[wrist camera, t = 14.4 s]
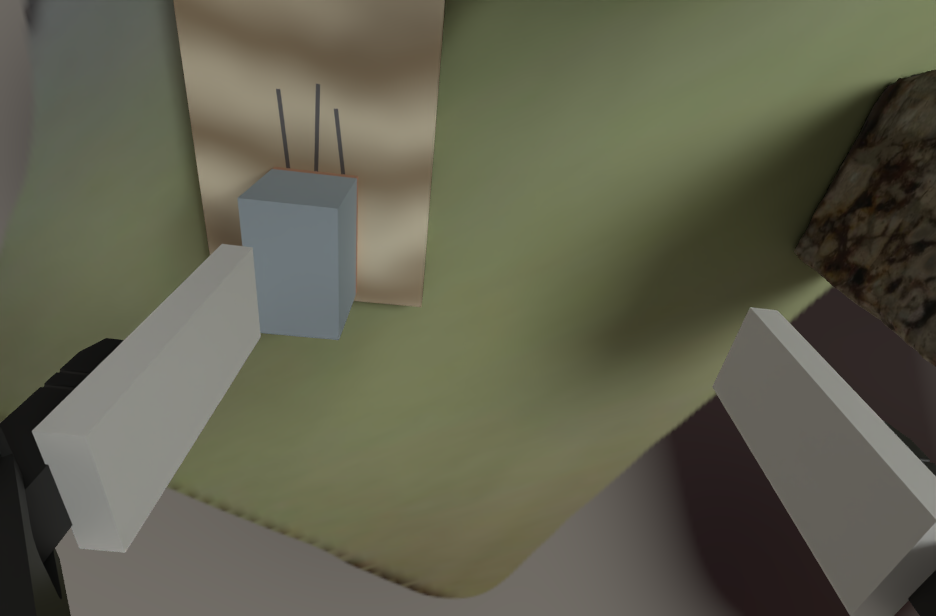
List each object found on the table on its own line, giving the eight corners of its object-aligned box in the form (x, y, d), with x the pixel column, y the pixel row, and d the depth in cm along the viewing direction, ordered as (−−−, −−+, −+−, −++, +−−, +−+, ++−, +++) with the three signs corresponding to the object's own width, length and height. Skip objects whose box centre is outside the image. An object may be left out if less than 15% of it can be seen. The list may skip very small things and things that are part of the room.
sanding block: (274, 166, 32) (237, 198, 26) (358, 175, 32) (338, 208, 27) (282, 284, 35) (251, 332, 30) (356, 291, 36) (338, 340, 31)
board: (180, -45, 28) (166, -48, 26) (446, -11, 28) (445, -12, 27) (223, 278, 37) (214, 288, 36) (422, 296, 38) (421, 306, 36)
